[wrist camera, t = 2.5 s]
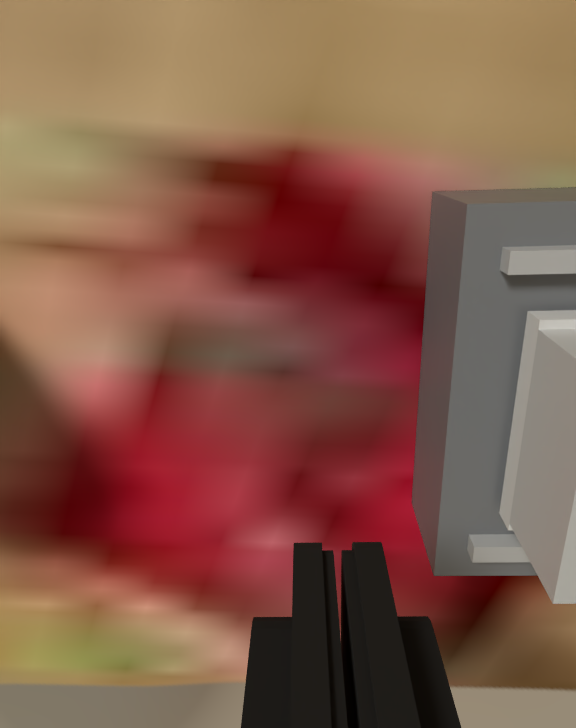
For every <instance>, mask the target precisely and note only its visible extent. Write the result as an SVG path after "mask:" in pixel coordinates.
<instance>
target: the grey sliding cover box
mask: <svg viewBox="0 0 576 728" xmlns="http://www.w3.org/2000/svg"><path fill="white" fill-rule="evenodd" d="M555 310H576V187H571V188H537V189H503V190H469V191H435V192H432V205H431V220H430V235H429V250H428V265H427V280H426V295H425V310H424V325H423V340H422V355H421V371H420V386H419V401H418V416H417V431H416V446H415V461H414V476H413V491H412V505H413V509H414V512H415V515H416V519H417V522H418V525H419V528H420V532H421V535H422V538H423V542H424V545H425V548H426V552H427V555H428V558H429V562H430V565H431V568H432V571H433V575H434V576H529V575H537V573H536V572H535V570H534V568H533V566H532V564H531V562H530V561H529V559H528V557H527V555H526V553H525V551H524V550H523V548H522V546H521V544H520V542H519V540H518V539H517V537H516V535H515V533H514V531H513V530H508V529H507V527H506V525H505V523H504V521H503V520H502V518H501V516H500V514H499V512H500V505H501V497H502V490H503V483H504V476H505V469H506V462H507V455H508V448H509V440H510V433H511V426H512V419H513V412H514V405H515V398H516V391H517V383H518V376H519V369H520V362H521V355H522V348H523V341H524V334H525V326H526V319H527V312H528V311H555Z"/></svg>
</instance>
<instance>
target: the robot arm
mask: <svg viewBox="0 0 576 728" xmlns="http://www.w3.org/2000/svg"><path fill="white" fill-rule="evenodd" d="M241 728H461V725H460V722H459V718H458V715H457V711H456V708H455V704H454V701H453V697H452V693H451V690H450V686H449V683H448V679H447V676H446V672H445V669H444V665H443V662H442V658H441V655H440V651H439V647H438V644H437V640H436V637H435V633H434V630H433V627H432V624H431V621H430V619H429V618H428V617H426V616H423V617H397V612H396V608H395V603H394V598H393V594H392V589H391V584H390V579H389V575H388V570H387V565H386V560H385V556H384V551H383V547H382V543H381V542H353V543H352V550H342V565H341V640H340V628H339V616H338V604H337V591H336V579H335V567H334V555H333V550H332V551H322V543H294V555H293V604H292V617H254V618H253V622H252V630H251V639H250V648H249V658H248V667H247V676H246V686H245V695H244V705H243V714H242V723H241Z"/></svg>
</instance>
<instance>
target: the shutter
mask: <svg viewBox="0 0 576 728" xmlns="http://www.w3.org/2000/svg"><path fill="white" fill-rule="evenodd" d="M499 514H500V516H501V518H502V520H503V521H504V523H505V525H506V527H507V529H508V530H513V531H514V533H515V535H516V537H517V539H518V540H519V542H520V544H521V546H522V548H523V550H524V551H525V553H526V555H527V557H528V559H529V561H530V562H531V564H532V566H533V568H534V570H535V572H536V573H537V575H538V577H539V579H540V581H541V583H542V584H543V586H544V588H545V590H546V592H547V594H548V596H549V597H550V599H551V601H552V603H553V604H576V310H555V311H528V312H527V319H526V326H525V334H524V341H523V348H522V355H521V362H520V369H519V376H518V383H517V391H516V398H515V405H514V412H513V419H512V426H511V433H510V440H509V448H508V455H507V462H506V469H505V476H504V483H503V490H502V497H501V505H500V512H499Z"/></svg>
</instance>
